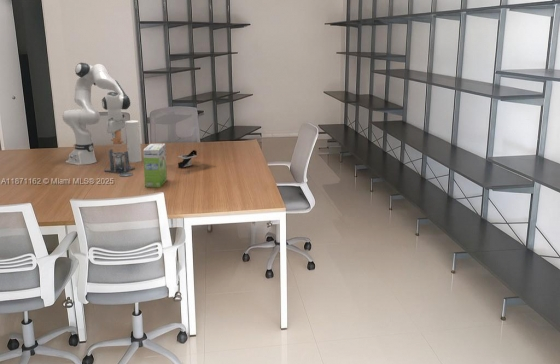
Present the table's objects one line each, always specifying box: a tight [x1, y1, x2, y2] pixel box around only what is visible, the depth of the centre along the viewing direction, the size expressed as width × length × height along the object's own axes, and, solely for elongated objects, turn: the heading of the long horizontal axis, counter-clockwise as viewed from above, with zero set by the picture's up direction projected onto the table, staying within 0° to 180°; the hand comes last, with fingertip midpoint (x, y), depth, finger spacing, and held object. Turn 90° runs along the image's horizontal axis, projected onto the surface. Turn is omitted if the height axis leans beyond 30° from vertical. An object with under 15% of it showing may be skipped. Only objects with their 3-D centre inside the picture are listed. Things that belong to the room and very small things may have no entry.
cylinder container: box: [125, 119, 143, 163], centre depth 389 cm, size 9×9×30 cm
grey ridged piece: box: [104, 149, 136, 175], centre depth 365 cm, size 15×14×14 cm
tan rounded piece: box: [110, 129, 124, 145], centre depth 361 cm, size 11×6×9 cm, turn 54°
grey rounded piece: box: [118, 171, 134, 178], centre depth 356 cm, size 9×9×1 cm
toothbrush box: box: [142, 143, 168, 188], centre depth 333 cm, size 18×10×24 cm, turn 178°
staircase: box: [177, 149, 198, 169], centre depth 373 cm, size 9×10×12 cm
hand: (116, 136), depth 361 cm, fingers closed on tan rounded piece, 6 cm apart
